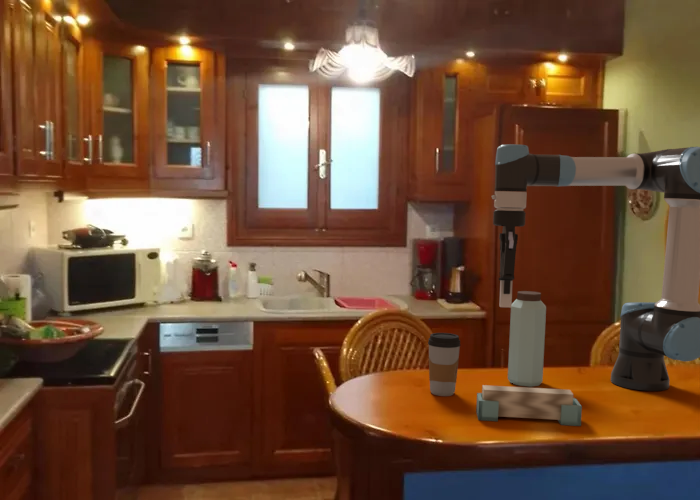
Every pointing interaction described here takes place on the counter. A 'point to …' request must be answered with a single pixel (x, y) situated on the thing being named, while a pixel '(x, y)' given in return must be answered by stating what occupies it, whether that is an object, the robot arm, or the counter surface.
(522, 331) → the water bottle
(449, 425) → the counter surface
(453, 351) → the coffee cup
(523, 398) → the slat
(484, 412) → the end caps
